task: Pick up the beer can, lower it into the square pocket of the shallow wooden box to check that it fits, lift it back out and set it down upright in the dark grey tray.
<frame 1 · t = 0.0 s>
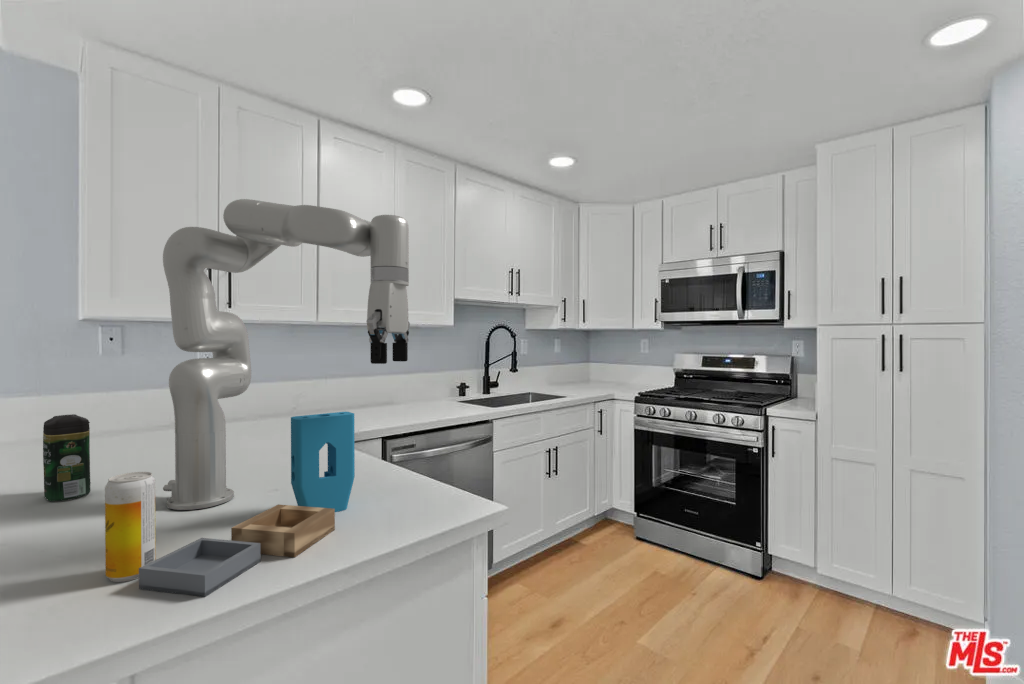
hand: (389, 362, 100), 31 cm above the counter, tool pointing down, fingers open, 9 cm apart
coffee jar: (67, 497, 113), on the counter
beer can: (131, 575, 76), on the counter
shallow wooden box: (285, 540, 88), on the counter
block: (323, 511, 103), on the counter
tray: (203, 574, 75), on the counter
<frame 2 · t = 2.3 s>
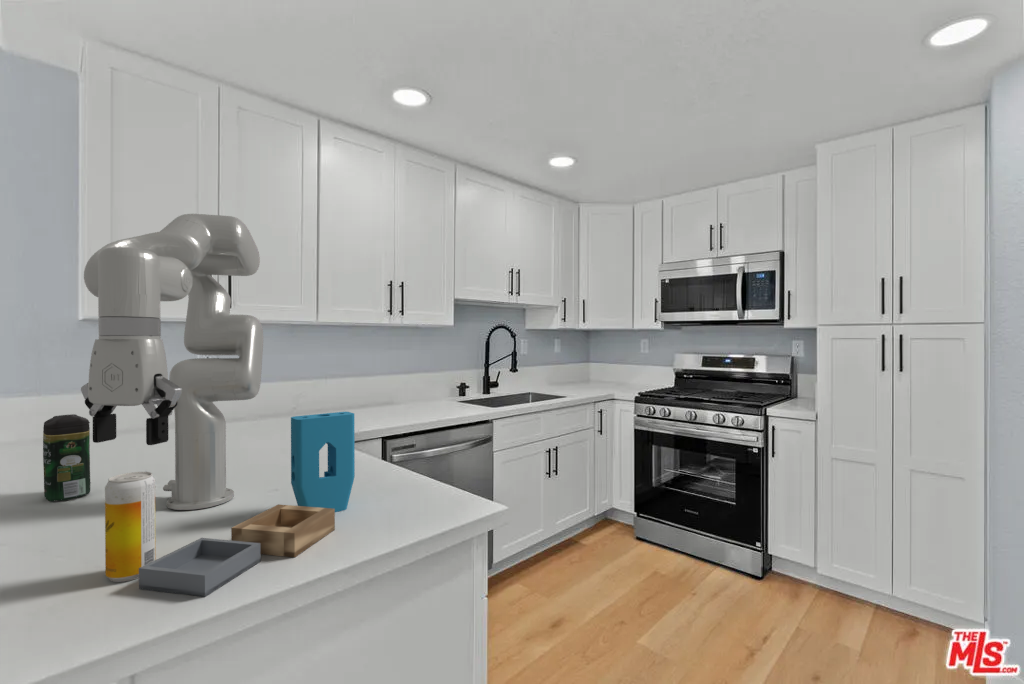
hand: (130, 442, 75), 20 cm above the counter, tool pointing down, fingers open, 9 cm apart
nothing on the counter moved.
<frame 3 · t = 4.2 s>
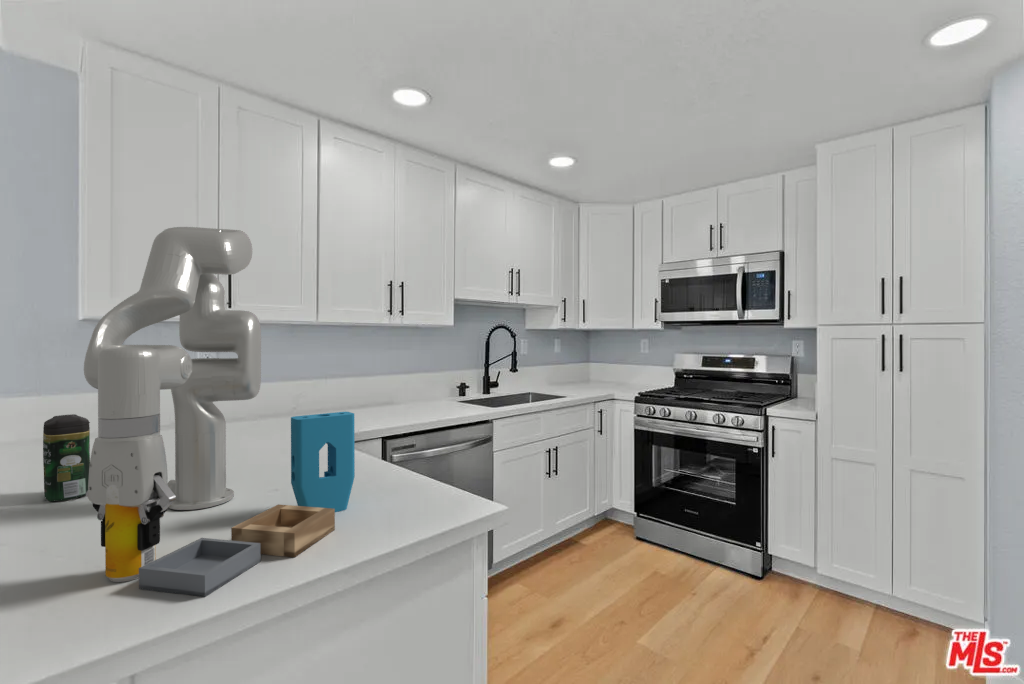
hand: (130, 544, 76), 5 cm above the counter, tool pointing down, fingers closed on beer can, 5 cm apart
beer can: (131, 575, 76), on the counter, touching gripper
everything else where it was.
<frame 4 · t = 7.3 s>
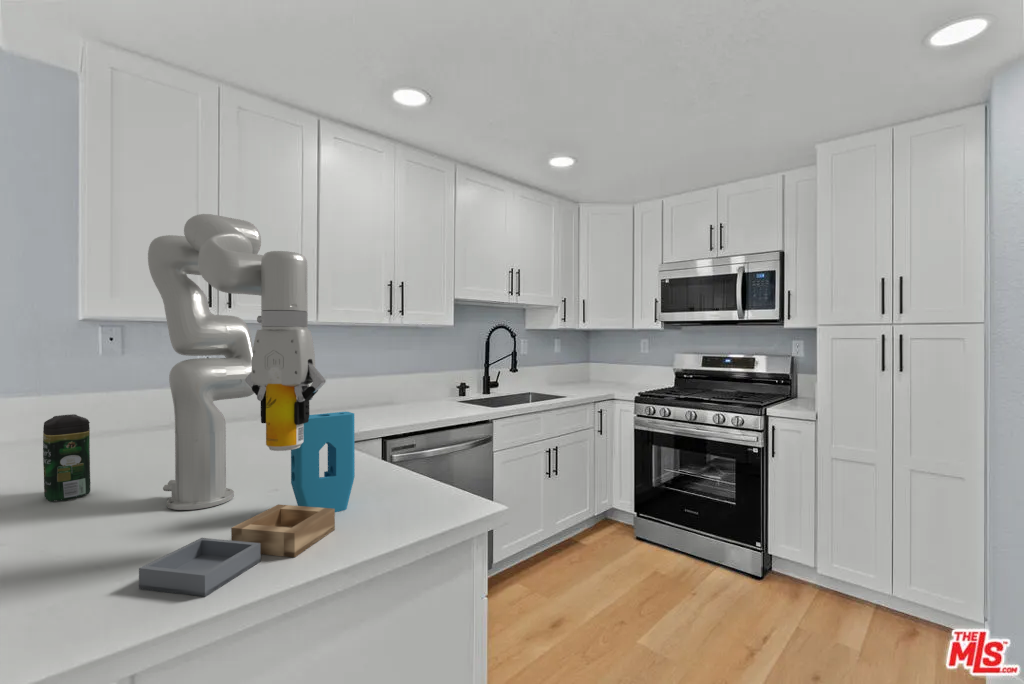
hand: (285, 421, 88), 21 cm above the counter, tool pointing down, fingers closed on beer can, 5 cm apart
beer can: (285, 448, 88), point 16 cm above the counter, touching gripper
everything else where it was.
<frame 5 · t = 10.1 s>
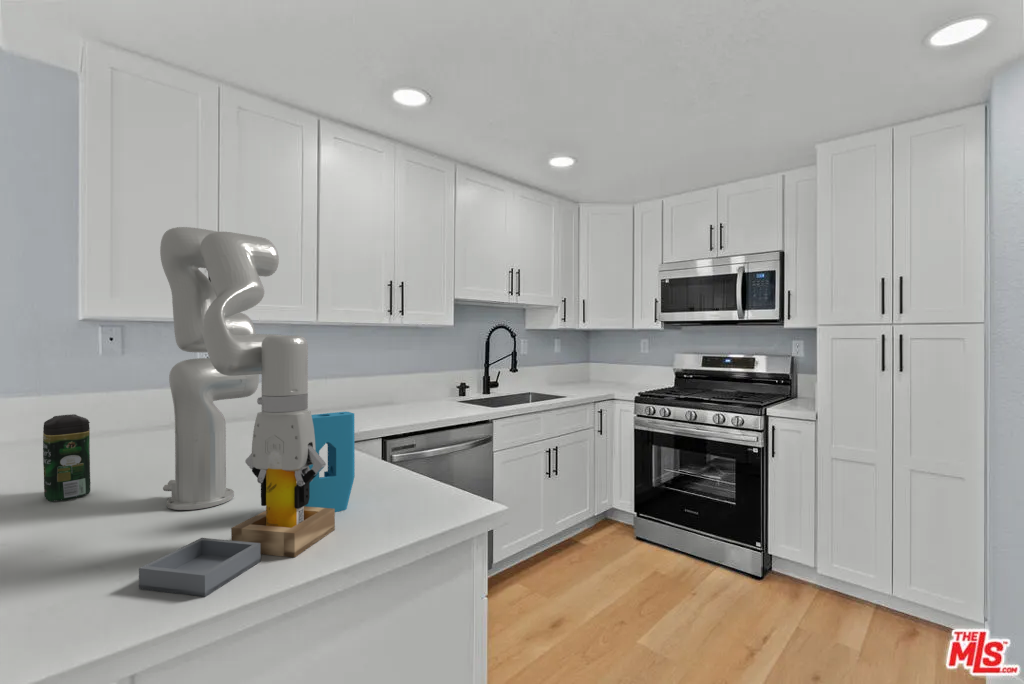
hand: (285, 503, 88), 6 cm above the counter, tool pointing down, fingers closed on beer can, 6 cm apart
beer can: (285, 530, 88), point 2 cm above the counter, touching gripper
everything else where it was.
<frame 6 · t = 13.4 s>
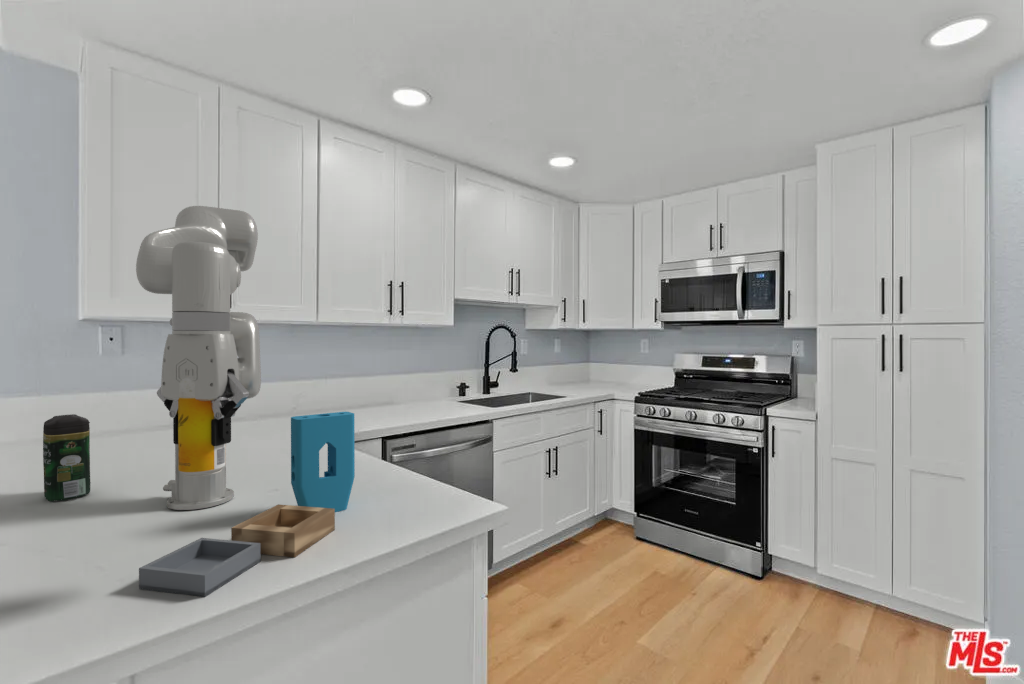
hand: (202, 442, 75), 20 cm above the counter, tool pointing down, fingers closed on beer can, 6 cm apart
beer can: (202, 473, 75), point 15 cm above the counter, touching gripper
everything else where it was.
when the fingers open (6 cm above the counter, at t = 16.2 s): beer can drops 1 cm, resting on tray.
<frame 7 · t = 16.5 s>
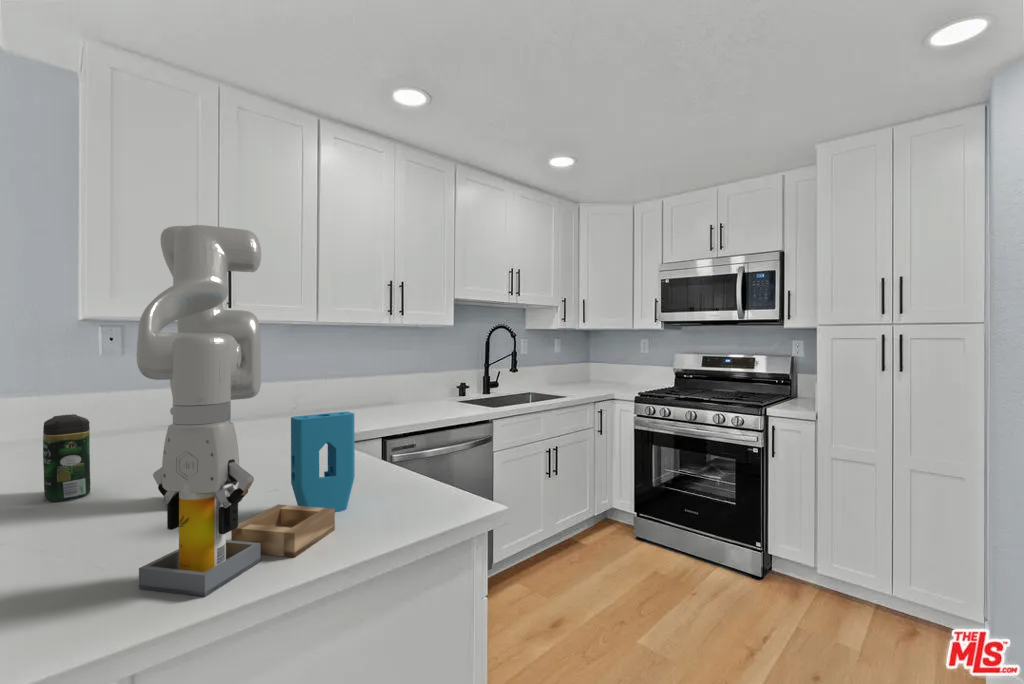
hand: (203, 528, 75), 7 cm above the counter, tool pointing down, fingers open, 8 cm apart
beer can: (202, 571, 75), resting on tray
everything else where it was.
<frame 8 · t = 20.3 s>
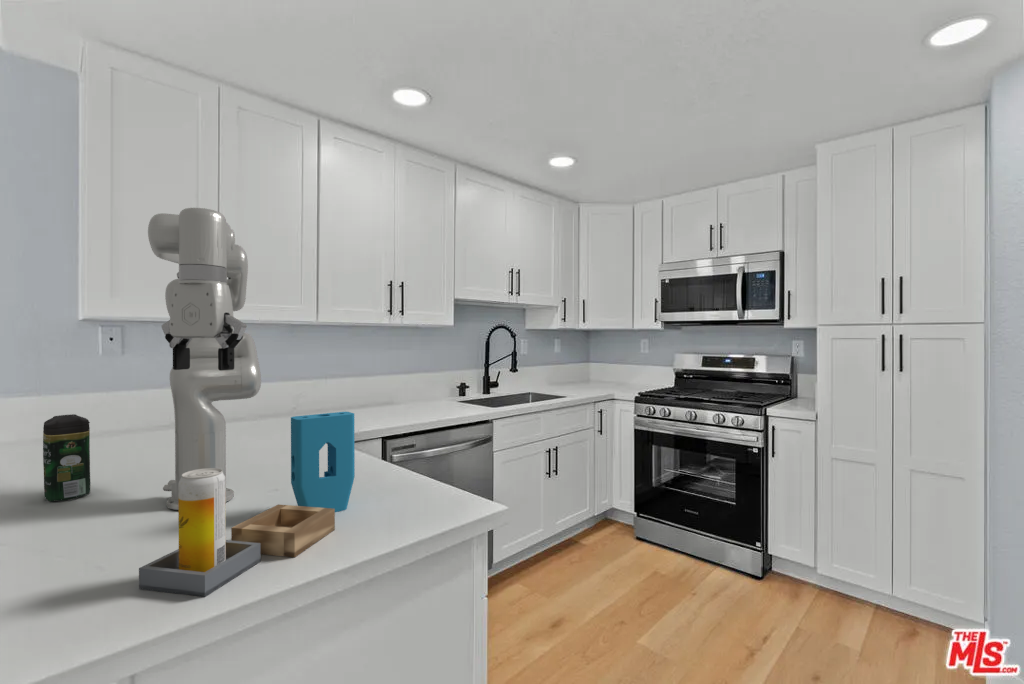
hand: (203, 369, 91), 30 cm above the counter, tool pointing down, fingers open, 9 cm apart
nothing on the counter moved.
at the end: beer can inside the target area on the tray (0.1 cm from its centre), point 0.4 cm above the tray's base; beer can tilted 0°; the gripper is holding nothing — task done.
